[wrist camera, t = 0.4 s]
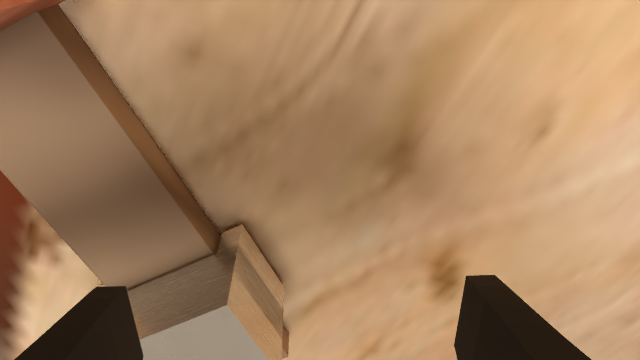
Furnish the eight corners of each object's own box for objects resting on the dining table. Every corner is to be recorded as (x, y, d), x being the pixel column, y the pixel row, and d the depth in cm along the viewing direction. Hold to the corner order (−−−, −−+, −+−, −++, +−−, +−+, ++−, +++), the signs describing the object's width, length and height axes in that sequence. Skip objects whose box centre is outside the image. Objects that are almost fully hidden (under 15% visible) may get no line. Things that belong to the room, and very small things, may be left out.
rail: (315, 322, 24) (320, 435, 19) (179, 374, 25) (148, 492, 20) (45, -90, 15) (-92, -98, 10) (-141, 23, 16) (-350, 69, 11)
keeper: (284, 287, 22) (280, 375, 18) (148, 341, 24) (114, 436, 19) (242, 224, 21) (226, 305, 16) (98, 286, 22) (47, 376, 17)
